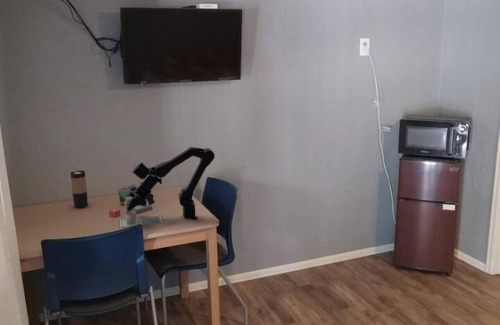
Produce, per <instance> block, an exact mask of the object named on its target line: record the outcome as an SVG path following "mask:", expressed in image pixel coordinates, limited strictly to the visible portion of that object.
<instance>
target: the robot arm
mask: <svg viewBox="0 0 500 325" xmlns="http://www.w3.org/2000/svg"><path fill="white" fill-rule="evenodd" d="M192 157H196V158H198V159H199V162H198V165H197V167H196V168H195V171H194V172H193V175H192V176H191V179H190V180H189V182H188V184H187V186H186V187H185V188H183V187H182V188H181V190H180V191H179V193H178V200H179V204H180V205H181V206H182V216H183V218H184V219H187V220H193V221H194V220H197V219H198V216H196V205H195V201H194V200H193V197H194V193H195V190H196V188H197V186H198V184H199V182H200V181H201V178H202V176H203V174H204V173H205V170H206V169H207V168H208V167H209V165H211V163H212V162H213V161H214V159H215V153H214V151H213V150H212V148H210V147H209V148H208V147H206V148H202V147H201V148H200V147H194V146H190V147H188V148H187V149H186V150H184V151H183V152H181V153H179V154H177V155H176V156H175V157H173V158H171V159H169V160H168V161H164V162H160V163H158V164H157V165H155V166H152V167H148V166H146V164H144V162H140V163H139V164H137V165H136V166H135V167H134V169H133V170H132V174H134V175H135V176H136V177H137V178H139V179H140V180H143V181H141V182H140V185H138V186H137V187H135V186H132V185H131V186H132V187H131V188H130V190H131V191H132V192H131V191H130V193H129V197H132V199H131V202H130V204H129V206H128V208H127V210H128V211H130V210H131V209H133V208H134V207H136V206H138V205H141V206H142V205H143V206H145V205H146V204H149V205H151V206H153V205H154V204H155V203H156V201H155V199H154V197H155V196H154V194H153V193H152V189H153V188H154V187H155V186H156V185H157V184H158V183H159V184H160V185H162V184H163V182H162V180H163V179H164V178H165V177H166V176H167V175H168V174H169V173H170V172H171V171H172V170H173V169H175V168H176V167H178V166H179V165H180V164H182V163H184V162H185V161H187V160H188V159H190V158H192Z"/></svg>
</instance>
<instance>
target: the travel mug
mask: <svg viewBox="0 0 500 325" xmlns="http://www.w3.org/2000/svg"><path fill="white" fill-rule="evenodd" d="M70 180H71V182H70V183H71V190H72V191H71V192H72V198H73V200H72V201H73V206H74V208H75V209H84V208H87V207H88V204H89V203H88V201H89V200H88V189H87V180H86V171H85V170H76V171H71V172H70Z"/></svg>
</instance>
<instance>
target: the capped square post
mask: <svg viewBox="0 0 500 325" xmlns="http://www.w3.org/2000/svg"><path fill="white" fill-rule="evenodd" d="M125 199H126V201H124V203H125V205H124V214H125V219H126V223H127V224H134V223H136V218H137V216H136V215H137V214H135V207H134V208H133V209H131V210H130V211H128V210H127V208H128V206H129V204H130V202H131V199H132V197H126V198H125Z"/></svg>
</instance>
